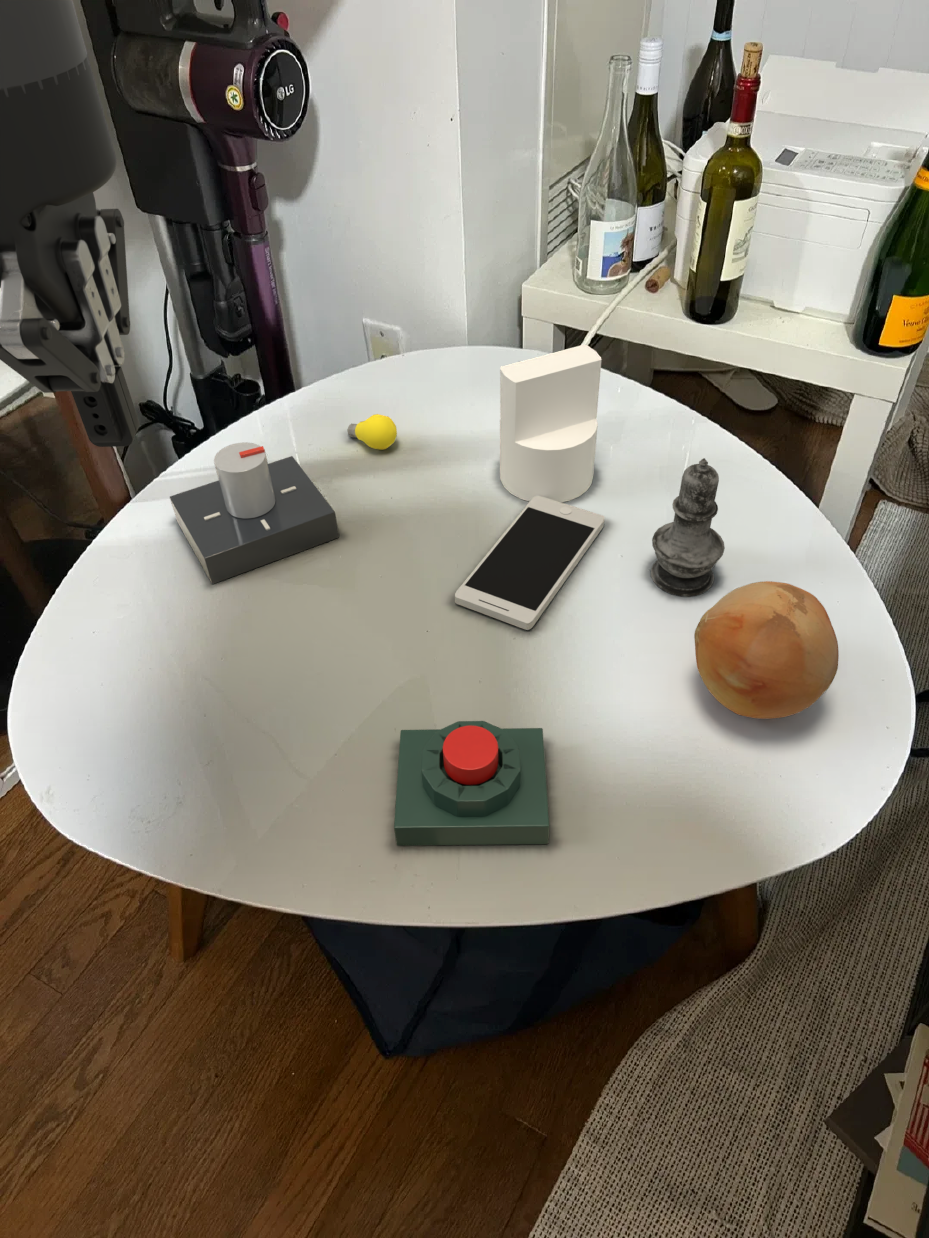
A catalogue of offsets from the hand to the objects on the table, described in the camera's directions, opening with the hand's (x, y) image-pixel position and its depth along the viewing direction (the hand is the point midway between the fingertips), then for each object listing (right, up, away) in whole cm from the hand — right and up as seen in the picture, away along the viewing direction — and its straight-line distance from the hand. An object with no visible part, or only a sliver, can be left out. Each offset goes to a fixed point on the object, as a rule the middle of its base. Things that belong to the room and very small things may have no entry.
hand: (116, 438), depth 47 cm
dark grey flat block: (-1, -1, +37) cm, 37 cm away
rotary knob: (-1, +1, +35) cm, 35 cm away
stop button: (+18, -19, +14) cm, 30 cm away
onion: (+39, -15, +22) cm, 48 cm away
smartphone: (+24, -4, +33) cm, 41 cm away
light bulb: (+8, +9, +47) cm, 48 cm away
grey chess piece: (+36, -6, +31) cm, 48 cm away
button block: (+18, -21, +16) cm, 32 cm away
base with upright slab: (+26, +5, +42) cm, 49 cm away
